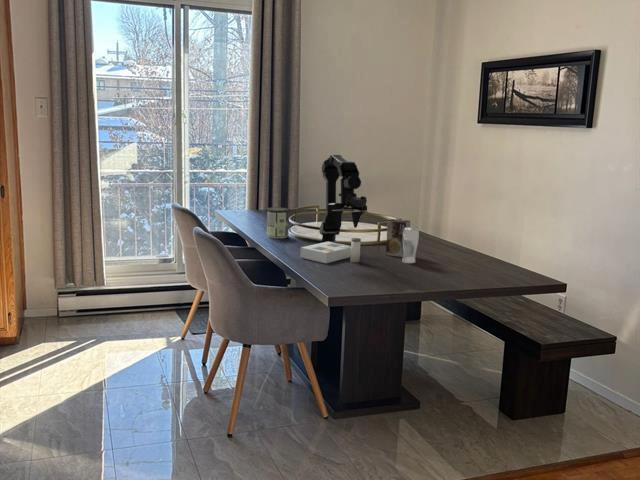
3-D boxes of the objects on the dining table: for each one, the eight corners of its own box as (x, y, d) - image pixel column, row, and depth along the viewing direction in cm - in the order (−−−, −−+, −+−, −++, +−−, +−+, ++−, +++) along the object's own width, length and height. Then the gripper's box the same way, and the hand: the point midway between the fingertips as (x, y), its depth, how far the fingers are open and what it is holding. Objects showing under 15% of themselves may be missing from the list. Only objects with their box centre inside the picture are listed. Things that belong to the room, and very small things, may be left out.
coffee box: (408, 255, 303) (411, 220, 299) (404, 257, 297) (406, 222, 294) (389, 252, 306) (392, 218, 303) (384, 255, 301) (387, 220, 297)
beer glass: (406, 264, 284) (409, 230, 281) (397, 260, 290) (400, 227, 287) (419, 263, 287) (422, 229, 284) (410, 259, 293) (413, 226, 290)
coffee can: (274, 233, 337) (275, 206, 334) (290, 236, 331) (291, 208, 329) (262, 236, 328) (262, 208, 325) (278, 239, 323) (279, 211, 320)
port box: (327, 250, 303) (328, 240, 302) (352, 256, 295) (353, 245, 294) (300, 257, 288) (300, 246, 287) (325, 263, 279) (326, 252, 278)
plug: (353, 259, 288) (355, 237, 286) (361, 261, 286) (362, 238, 284) (348, 261, 285) (349, 238, 283) (355, 262, 283) (357, 240, 281)
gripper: (344, 188, 270) (344, 226, 269) (376, 190, 282) (376, 227, 282) (326, 190, 278) (326, 227, 278) (358, 192, 290) (358, 228, 290)
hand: (347, 227), depth 282 cm, fingers open, 9 cm apart
